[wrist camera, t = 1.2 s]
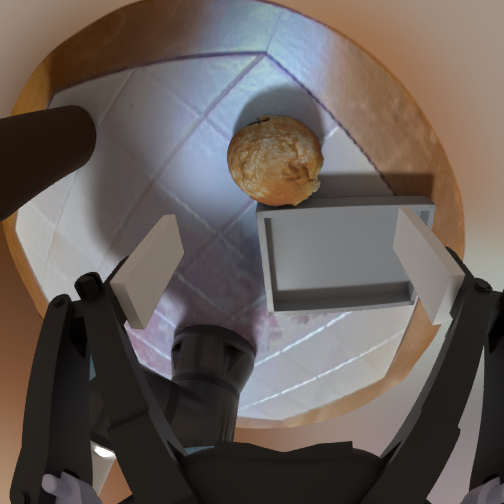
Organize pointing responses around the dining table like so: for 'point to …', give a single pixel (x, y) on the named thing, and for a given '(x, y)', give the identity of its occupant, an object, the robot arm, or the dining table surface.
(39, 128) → the olive oil
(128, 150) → the dining table surface
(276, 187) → the bread roll
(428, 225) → the tray
